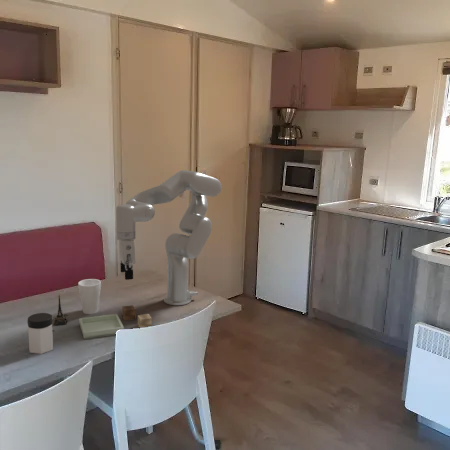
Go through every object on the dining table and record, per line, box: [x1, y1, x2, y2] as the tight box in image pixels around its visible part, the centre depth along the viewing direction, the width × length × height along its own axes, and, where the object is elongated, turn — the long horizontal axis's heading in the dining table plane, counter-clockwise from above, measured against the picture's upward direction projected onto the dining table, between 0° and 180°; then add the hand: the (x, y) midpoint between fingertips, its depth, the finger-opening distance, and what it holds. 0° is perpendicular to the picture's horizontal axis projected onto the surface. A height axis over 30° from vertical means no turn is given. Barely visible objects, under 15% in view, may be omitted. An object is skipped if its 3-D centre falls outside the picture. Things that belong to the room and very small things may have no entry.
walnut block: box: [121, 304, 136, 321], centre depth 200 cm, size 4×4×4 cm
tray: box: [78, 313, 125, 340], centre depth 189 cm, size 15×14×3 cm
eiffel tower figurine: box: [52, 294, 69, 333], centre depth 193 cm, size 15×10×13 cm
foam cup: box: [77, 278, 102, 315], centre depth 205 cm, size 10×9×13 cm
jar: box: [27, 312, 54, 355], centre depth 171 cm, size 9×8×12 cm
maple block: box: [137, 313, 153, 328], centre depth 192 cm, size 4×4×4 cm
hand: (126, 275), depth 197 cm, fingers open, 9 cm apart
